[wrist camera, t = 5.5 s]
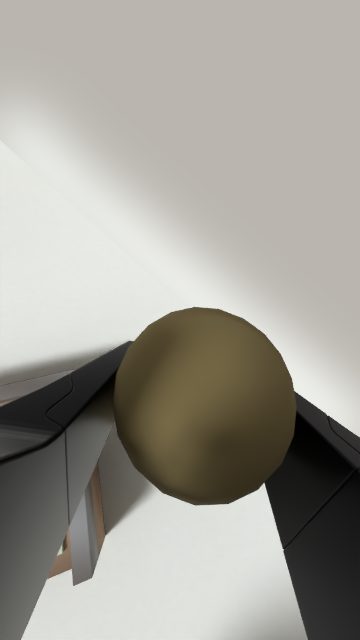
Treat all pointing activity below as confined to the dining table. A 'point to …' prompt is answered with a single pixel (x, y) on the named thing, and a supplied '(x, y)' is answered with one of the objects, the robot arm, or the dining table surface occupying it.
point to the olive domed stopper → (204, 406)
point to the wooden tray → (88, 518)
